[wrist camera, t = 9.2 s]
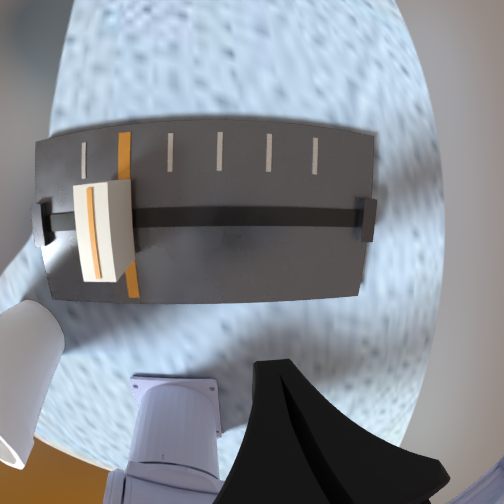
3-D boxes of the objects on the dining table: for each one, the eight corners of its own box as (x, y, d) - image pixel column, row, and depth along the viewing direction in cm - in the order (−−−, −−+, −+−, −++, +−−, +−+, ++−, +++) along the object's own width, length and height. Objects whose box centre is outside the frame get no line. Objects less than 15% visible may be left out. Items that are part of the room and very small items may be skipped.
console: (351, 289, 21) (362, 300, 19) (58, 293, 18) (47, 304, 16) (365, 137, 18) (380, 135, 16) (44, 142, 14) (29, 141, 12)
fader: (135, 258, 16) (115, 282, 12) (107, 258, 16) (83, 282, 12) (130, 178, 15) (106, 182, 11) (101, 181, 14) (72, 185, 11)
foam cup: (69, 292, 18) (-22, 400, 6) (88, 377, 20) (45, 484, 8) (-4, 277, 16) (-88, 347, 4) (18, 356, 19) (-35, 436, 7)
